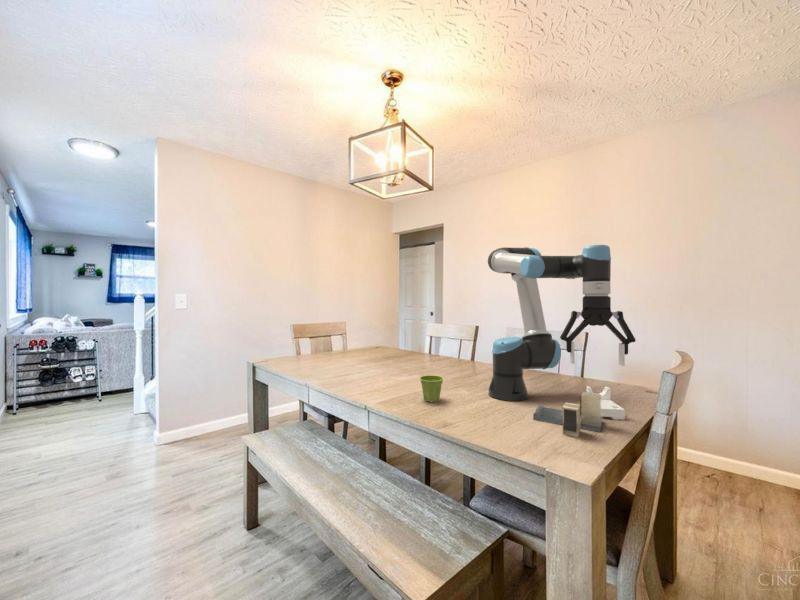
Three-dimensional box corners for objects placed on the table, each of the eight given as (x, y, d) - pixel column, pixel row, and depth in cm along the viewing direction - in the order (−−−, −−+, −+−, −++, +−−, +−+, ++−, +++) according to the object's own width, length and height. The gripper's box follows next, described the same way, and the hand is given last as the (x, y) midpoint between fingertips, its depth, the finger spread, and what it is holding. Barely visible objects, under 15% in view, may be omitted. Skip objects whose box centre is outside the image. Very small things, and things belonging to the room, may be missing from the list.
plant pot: (448, 401, 131) (448, 379, 131) (427, 405, 126) (427, 382, 126) (435, 395, 139) (435, 374, 139) (415, 398, 135) (415, 376, 135)
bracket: (586, 406, 124) (586, 386, 124) (607, 407, 123) (607, 386, 123) (601, 419, 112) (601, 396, 111) (624, 420, 110) (624, 397, 110)
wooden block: (577, 437, 97) (577, 409, 97) (562, 434, 99) (562, 407, 99) (580, 431, 101) (580, 404, 101) (565, 428, 103) (565, 402, 103)
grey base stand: (533, 419, 111) (533, 390, 111) (540, 410, 119) (540, 383, 119) (600, 432, 100) (600, 400, 100) (602, 421, 109) (602, 392, 109)
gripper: (554, 295, 105) (554, 364, 105) (648, 295, 98) (648, 368, 98) (550, 295, 112) (551, 359, 112) (638, 295, 105) (638, 363, 105)
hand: (596, 364), depth 105 cm, fingers open, 13 cm apart
